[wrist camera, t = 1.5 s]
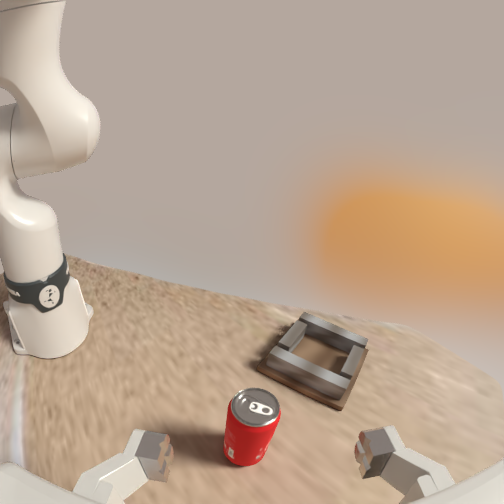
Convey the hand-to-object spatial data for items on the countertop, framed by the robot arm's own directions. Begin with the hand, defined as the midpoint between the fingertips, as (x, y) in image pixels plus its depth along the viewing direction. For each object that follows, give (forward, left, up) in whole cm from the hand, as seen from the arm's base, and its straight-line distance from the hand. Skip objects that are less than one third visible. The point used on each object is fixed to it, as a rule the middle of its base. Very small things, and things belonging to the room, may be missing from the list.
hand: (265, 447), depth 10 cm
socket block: (-3, +30, -24) cm, 39 cm away
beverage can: (-4, +9, -25) cm, 27 cm away
